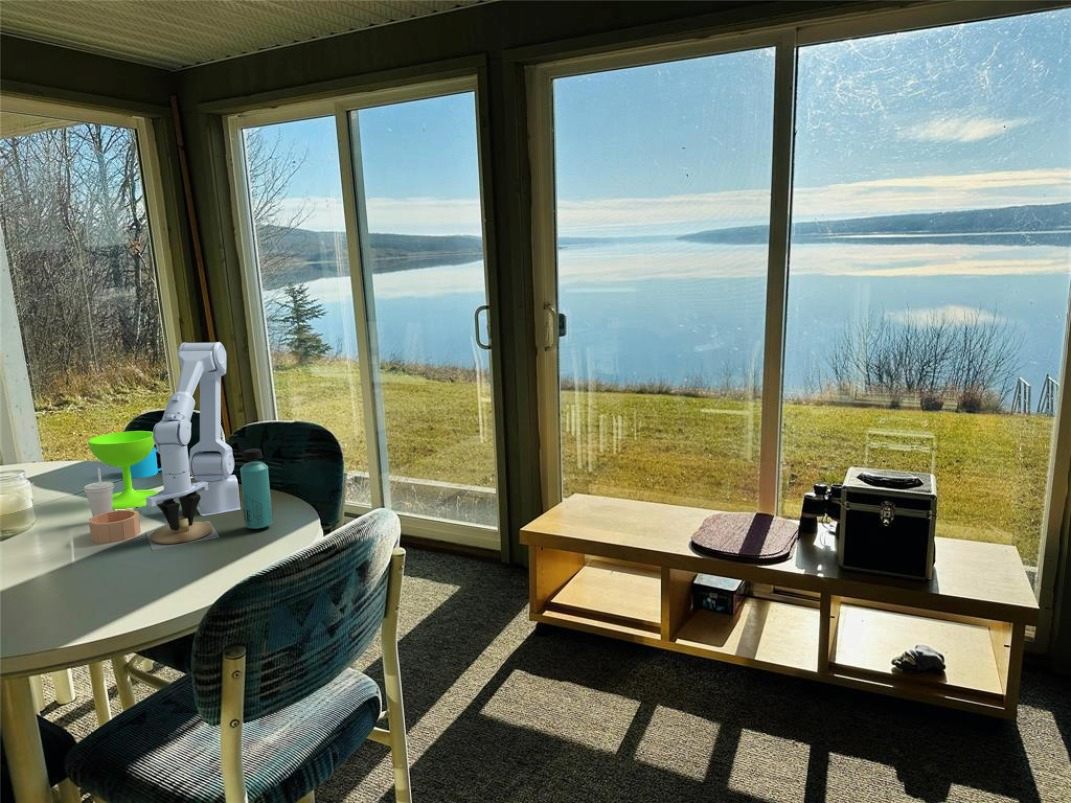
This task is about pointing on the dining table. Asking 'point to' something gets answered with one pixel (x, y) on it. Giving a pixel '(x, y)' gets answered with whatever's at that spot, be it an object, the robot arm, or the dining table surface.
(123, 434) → the wineglass
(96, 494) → the smoothie
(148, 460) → the mug
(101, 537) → the bowl
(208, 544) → the dining table surface
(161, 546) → the mat
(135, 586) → the dining table surface
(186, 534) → the lid
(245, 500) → the beverage bottle
